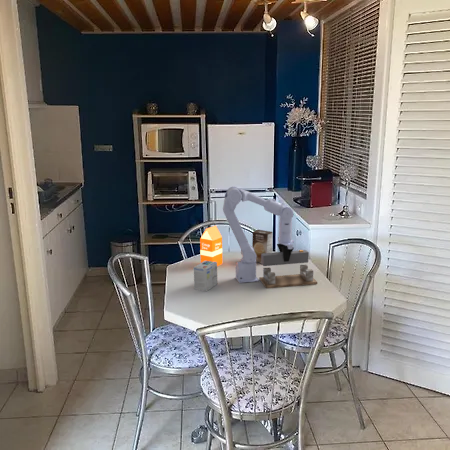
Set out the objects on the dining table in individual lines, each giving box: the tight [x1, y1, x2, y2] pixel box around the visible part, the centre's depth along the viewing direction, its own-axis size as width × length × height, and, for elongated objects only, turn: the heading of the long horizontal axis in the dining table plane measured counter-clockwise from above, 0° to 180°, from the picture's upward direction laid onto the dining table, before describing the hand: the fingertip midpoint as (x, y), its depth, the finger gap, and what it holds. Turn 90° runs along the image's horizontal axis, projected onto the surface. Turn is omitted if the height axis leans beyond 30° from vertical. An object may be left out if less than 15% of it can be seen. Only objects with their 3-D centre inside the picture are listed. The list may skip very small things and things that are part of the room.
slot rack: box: [258, 264, 318, 289], centre depth 218 cm, size 24×12×6 cm, turn 101°
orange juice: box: [199, 225, 223, 267], centre depth 243 cm, size 8×9×20 cm
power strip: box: [260, 249, 310, 267], centre depth 221 cm, size 22×4×6 cm, turn 103°
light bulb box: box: [193, 261, 218, 292], centre depth 212 cm, size 11×7×11 cm, turn 154°
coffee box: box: [251, 229, 273, 264], centre depth 248 cm, size 9×6×16 cm
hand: (284, 260), depth 222 cm, fingers closed on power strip, 4 cm apart
